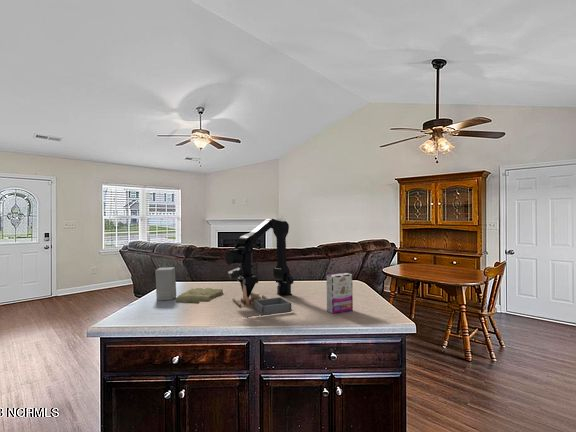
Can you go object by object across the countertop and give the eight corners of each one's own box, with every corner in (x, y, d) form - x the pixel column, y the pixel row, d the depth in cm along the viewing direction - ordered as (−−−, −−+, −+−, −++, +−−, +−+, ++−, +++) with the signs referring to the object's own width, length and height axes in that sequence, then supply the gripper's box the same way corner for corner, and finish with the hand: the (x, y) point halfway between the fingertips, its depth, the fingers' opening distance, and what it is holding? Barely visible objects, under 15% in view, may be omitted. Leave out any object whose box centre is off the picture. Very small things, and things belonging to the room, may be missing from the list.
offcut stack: (257, 300, 160) (257, 291, 160) (260, 302, 155) (260, 294, 155) (249, 301, 158) (249, 292, 158) (252, 303, 153) (252, 294, 153)
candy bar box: (346, 308, 149) (346, 272, 149) (353, 310, 145) (353, 274, 145) (325, 311, 144) (326, 274, 144) (332, 314, 140) (332, 276, 140)
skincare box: (176, 297, 168) (176, 266, 168) (172, 300, 161) (172, 269, 161) (160, 297, 168) (160, 266, 168) (154, 300, 161) (155, 269, 161)
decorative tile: (175, 303, 159) (175, 295, 159) (191, 293, 179) (191, 286, 179) (211, 304, 157) (211, 296, 157) (224, 294, 177) (224, 287, 177)
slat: (245, 301, 157) (245, 280, 157) (249, 304, 152) (249, 283, 152) (242, 301, 157) (242, 281, 157) (246, 304, 151) (246, 283, 151)
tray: (280, 305, 154) (280, 297, 154) (291, 311, 143) (291, 303, 143) (253, 308, 148) (253, 300, 148) (262, 315, 137) (262, 306, 137)
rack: (263, 299, 164) (263, 294, 164) (272, 305, 154) (272, 299, 154) (232, 302, 158) (232, 297, 158) (239, 309, 147) (239, 303, 147)
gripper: (224, 261, 160) (224, 292, 160) (234, 266, 143) (234, 301, 143) (246, 259, 164) (246, 290, 164) (258, 264, 147) (258, 299, 147)
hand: (246, 295), depth 154 cm, fingers closed on slat, 6 cm apart
